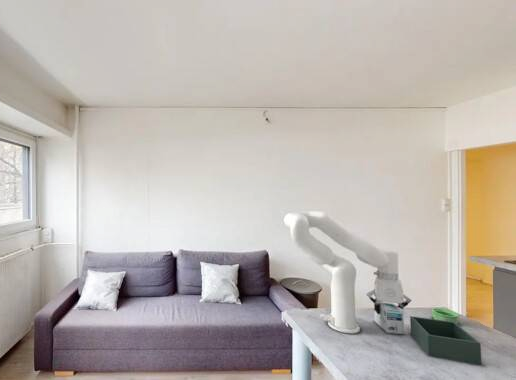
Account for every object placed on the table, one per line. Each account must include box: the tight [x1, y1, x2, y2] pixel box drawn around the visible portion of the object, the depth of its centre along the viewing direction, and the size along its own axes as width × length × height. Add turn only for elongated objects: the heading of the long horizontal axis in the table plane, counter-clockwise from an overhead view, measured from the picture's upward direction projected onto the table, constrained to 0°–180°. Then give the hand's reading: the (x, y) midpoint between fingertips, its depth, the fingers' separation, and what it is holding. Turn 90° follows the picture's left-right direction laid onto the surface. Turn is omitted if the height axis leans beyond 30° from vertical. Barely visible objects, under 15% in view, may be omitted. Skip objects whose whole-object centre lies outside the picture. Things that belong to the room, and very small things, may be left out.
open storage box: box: [409, 315, 482, 366], centre depth 105 cm, size 15×17×8 cm
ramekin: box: [431, 307, 460, 324], centre depth 125 cm, size 9×9×4 cm
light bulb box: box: [374, 301, 405, 335], centre depth 120 cm, size 11×7×11 cm, turn 168°
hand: (388, 314), depth 120 cm, fingers closed on light bulb box, 7 cm apart
